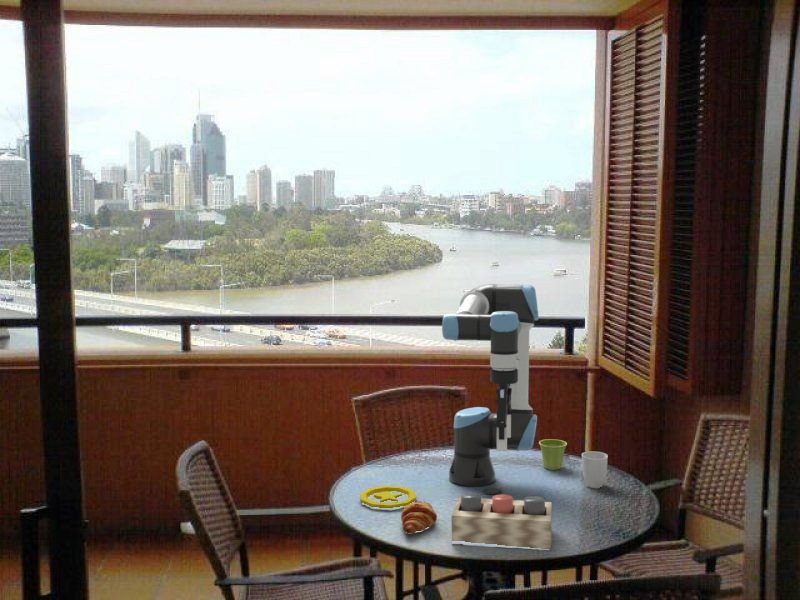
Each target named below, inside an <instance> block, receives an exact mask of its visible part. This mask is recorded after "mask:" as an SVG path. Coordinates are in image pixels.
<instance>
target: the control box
mask: <svg viewBox="0 0 800 600" xmlns="http://www.w3.org/2000/svg"><path fill="white" fill-rule="evenodd" d="M455 501H456V502H455V504H454V507H453V510H452V513H451V542H452V541H465V542H471V543H485V544H497V545H505V546H517V547H530V548H541V549H549V550H551V551H552V503H553V502H551V501H545V516H542V515H525V514H524V500H520V499H519V500H517V499H516V500H514V499H513V514H507V513H492V498H482V497H481V512H473V511H461V496H460V497H459V496H458V497H457V499H456V500H455Z"/></svg>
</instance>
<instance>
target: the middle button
mask: <svg viewBox="0 0 800 600" xmlns="http://www.w3.org/2000/svg"><path fill="white" fill-rule="evenodd" d="M491 499H492V513H507V514H513V500H514V497H513V496H511V495H509V494H495V495H493V496H492V498H491Z"/></svg>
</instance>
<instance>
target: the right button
mask: <svg viewBox="0 0 800 600" xmlns="http://www.w3.org/2000/svg"><path fill="white" fill-rule="evenodd" d="M523 501H524V514H525V515H542V516H545V502H546V499H545V498H543V497H541V496H536V495H533V496H532V495H531V496H526V497H524V499H523Z"/></svg>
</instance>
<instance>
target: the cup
mask: <svg viewBox="0 0 800 600" xmlns="http://www.w3.org/2000/svg"><path fill="white" fill-rule="evenodd" d="M608 457H609V456H608V454H607V453H605V452H602V451H585V452H582V453H581V467H582V468H581V469H582V474H583V479H584V482H585V485H586V487H587V488H589V489H600V487H601V488H602V487H603V485H604V482H605V480H606V475H607V470H608Z"/></svg>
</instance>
